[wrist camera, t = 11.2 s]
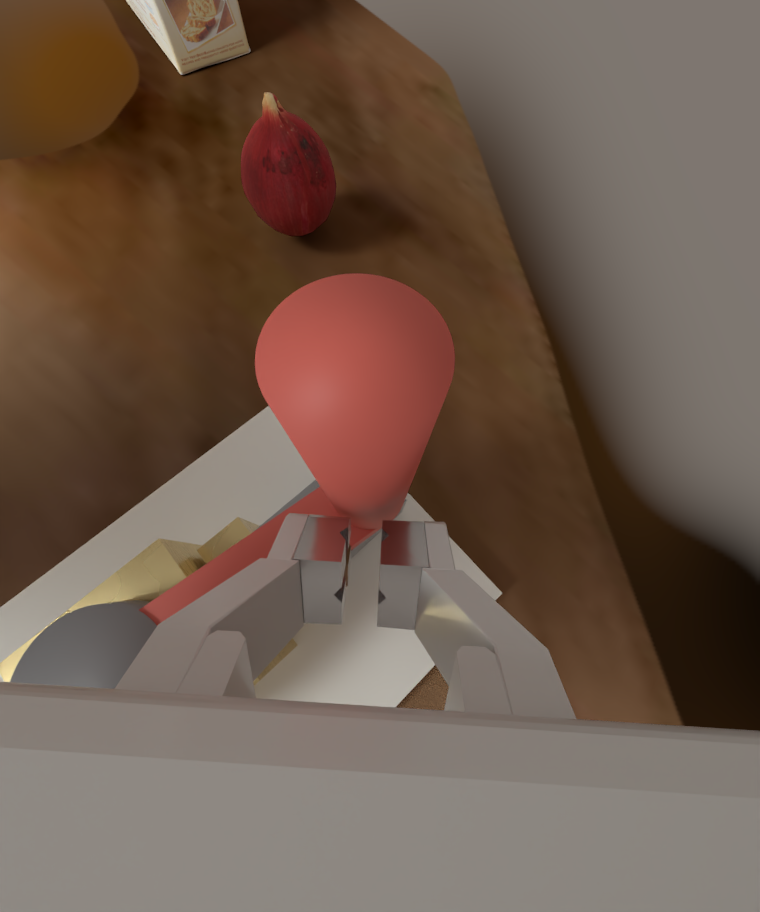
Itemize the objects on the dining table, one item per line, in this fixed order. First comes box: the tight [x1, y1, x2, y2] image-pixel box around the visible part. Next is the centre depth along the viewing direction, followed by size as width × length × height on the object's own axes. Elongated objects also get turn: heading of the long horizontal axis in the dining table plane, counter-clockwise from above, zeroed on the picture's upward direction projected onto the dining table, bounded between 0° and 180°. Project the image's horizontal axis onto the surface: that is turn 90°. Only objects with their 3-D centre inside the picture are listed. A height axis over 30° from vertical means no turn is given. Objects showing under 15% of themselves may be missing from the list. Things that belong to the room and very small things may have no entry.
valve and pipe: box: [0, 480, 407, 686], centre depth 15 cm, size 22×6×7 cm, turn 132°
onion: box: [241, 92, 336, 236], centre depth 23 cm, size 6×6×8 cm
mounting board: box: [0, 406, 502, 707], centre depth 18 cm, size 24×16×1 cm, turn 132°
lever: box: [10, 273, 455, 689], centre depth 8 cm, size 13×4×9 cm, turn 126°
